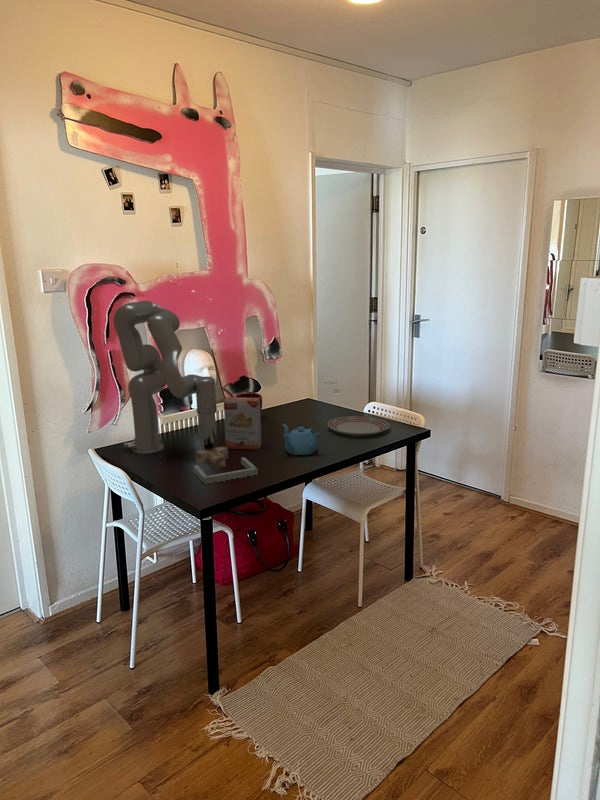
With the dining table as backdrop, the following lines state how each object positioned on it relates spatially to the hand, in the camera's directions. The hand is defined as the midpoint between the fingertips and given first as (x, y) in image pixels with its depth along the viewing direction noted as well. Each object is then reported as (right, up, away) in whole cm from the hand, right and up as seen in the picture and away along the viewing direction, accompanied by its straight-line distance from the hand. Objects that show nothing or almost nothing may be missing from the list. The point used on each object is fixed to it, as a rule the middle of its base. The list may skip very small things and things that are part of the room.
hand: (209, 453), depth 239 cm
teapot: (+36, 0, +4) cm, 36 cm away
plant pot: (+12, +11, +50) cm, 52 cm away
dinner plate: (+62, +7, +32) cm, 70 cm away
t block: (+3, -3, -7) cm, 8 cm away
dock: (+9, -6, -18) cm, 21 cm away
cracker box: (+13, +1, +11) cm, 17 cm away
